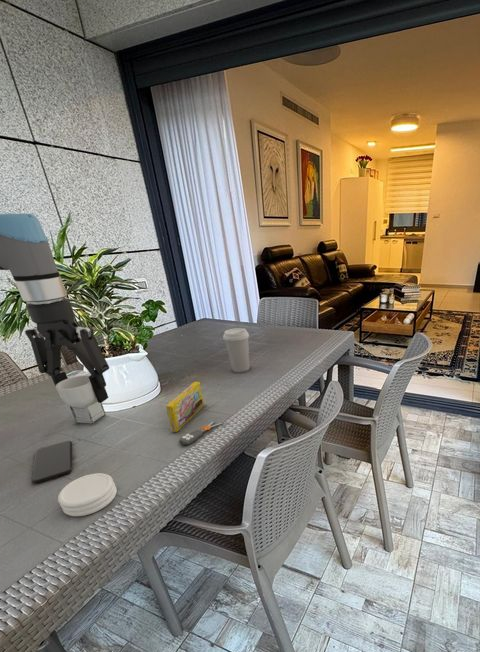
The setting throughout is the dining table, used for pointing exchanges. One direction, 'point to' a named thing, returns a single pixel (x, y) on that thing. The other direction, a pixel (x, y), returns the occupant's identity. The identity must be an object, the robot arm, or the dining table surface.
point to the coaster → (87, 494)
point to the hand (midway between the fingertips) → (86, 399)
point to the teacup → (76, 391)
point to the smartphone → (52, 461)
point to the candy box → (185, 406)
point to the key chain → (195, 434)
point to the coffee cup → (237, 348)
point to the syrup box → (88, 412)
